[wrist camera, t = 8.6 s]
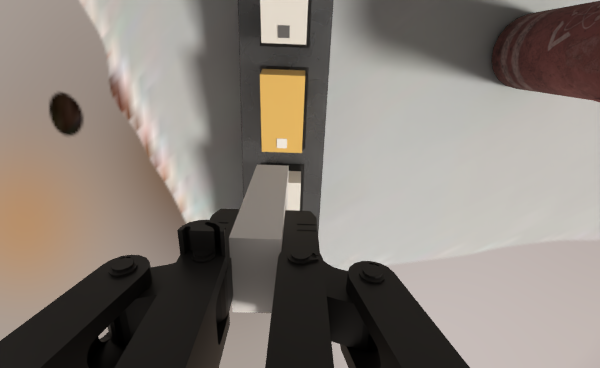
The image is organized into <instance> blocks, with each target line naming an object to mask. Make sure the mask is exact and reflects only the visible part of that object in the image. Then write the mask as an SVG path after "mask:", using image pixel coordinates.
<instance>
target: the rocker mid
mask: <svg viewBox="0 0 600 368" xmlns="http://www.w3.org/2000/svg"><path fill="white" fill-rule="evenodd" d="M304 93H305V70H280V69H262V71H261V73H260V102H261V141H262V152H285V153H302V139H303V116H304Z"/></svg>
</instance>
